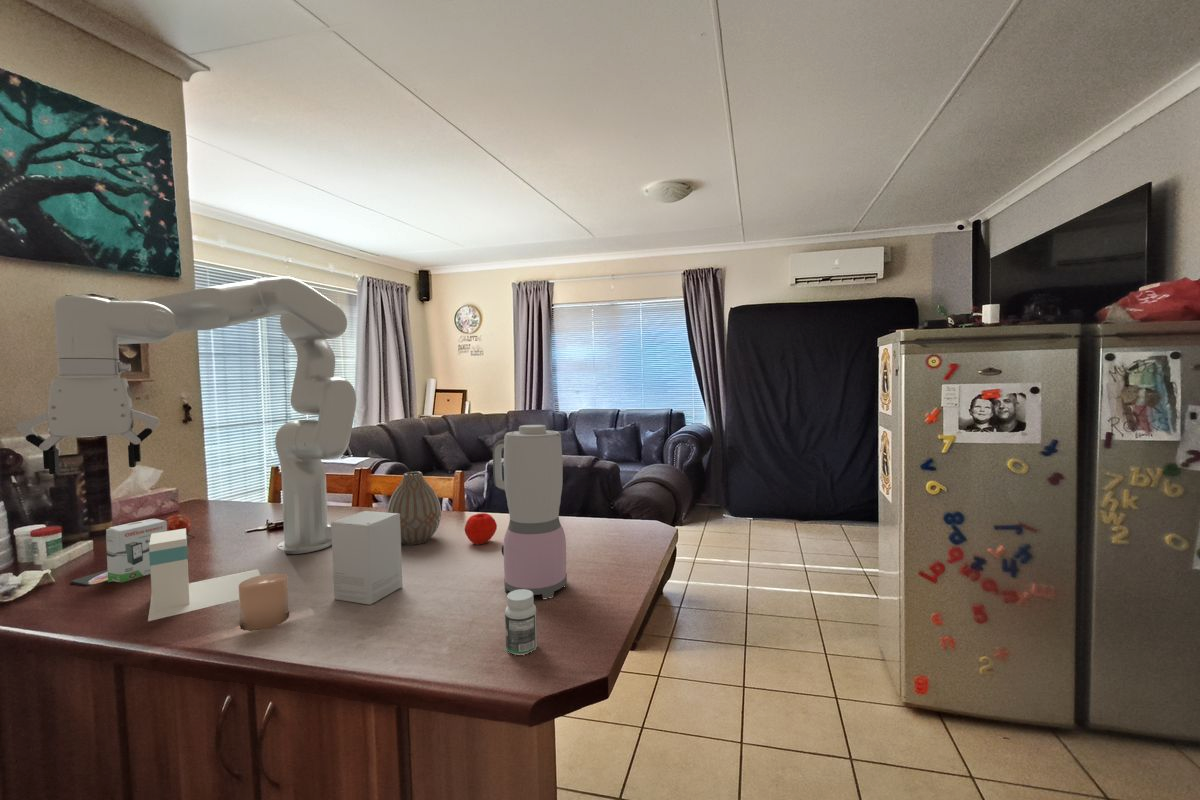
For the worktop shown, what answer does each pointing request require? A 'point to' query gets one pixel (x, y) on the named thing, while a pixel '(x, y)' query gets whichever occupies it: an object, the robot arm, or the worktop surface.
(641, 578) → the worktop surface
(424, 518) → the vase
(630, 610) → the worktop surface
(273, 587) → the beige pillar candle
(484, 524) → the apple
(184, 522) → the pomegranate
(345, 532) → the supplement box
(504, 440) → the blender
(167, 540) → the carton
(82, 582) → the smartphone
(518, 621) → the pill bottle
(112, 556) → the ink box
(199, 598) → the white flat sheet
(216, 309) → the robot arm
